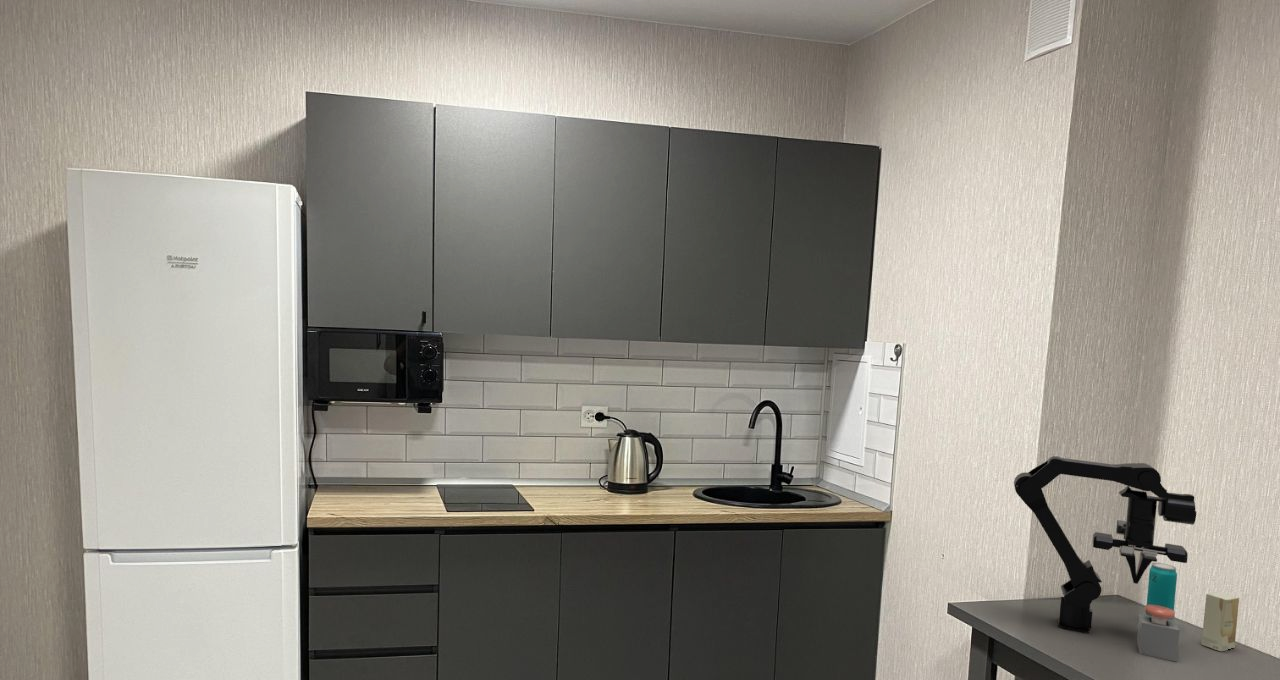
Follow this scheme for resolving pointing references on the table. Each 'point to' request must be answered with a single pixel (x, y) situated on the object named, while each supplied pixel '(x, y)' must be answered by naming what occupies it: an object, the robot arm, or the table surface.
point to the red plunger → (1159, 613)
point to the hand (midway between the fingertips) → (1135, 583)
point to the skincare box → (1220, 621)
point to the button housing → (1158, 638)
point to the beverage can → (1162, 585)
